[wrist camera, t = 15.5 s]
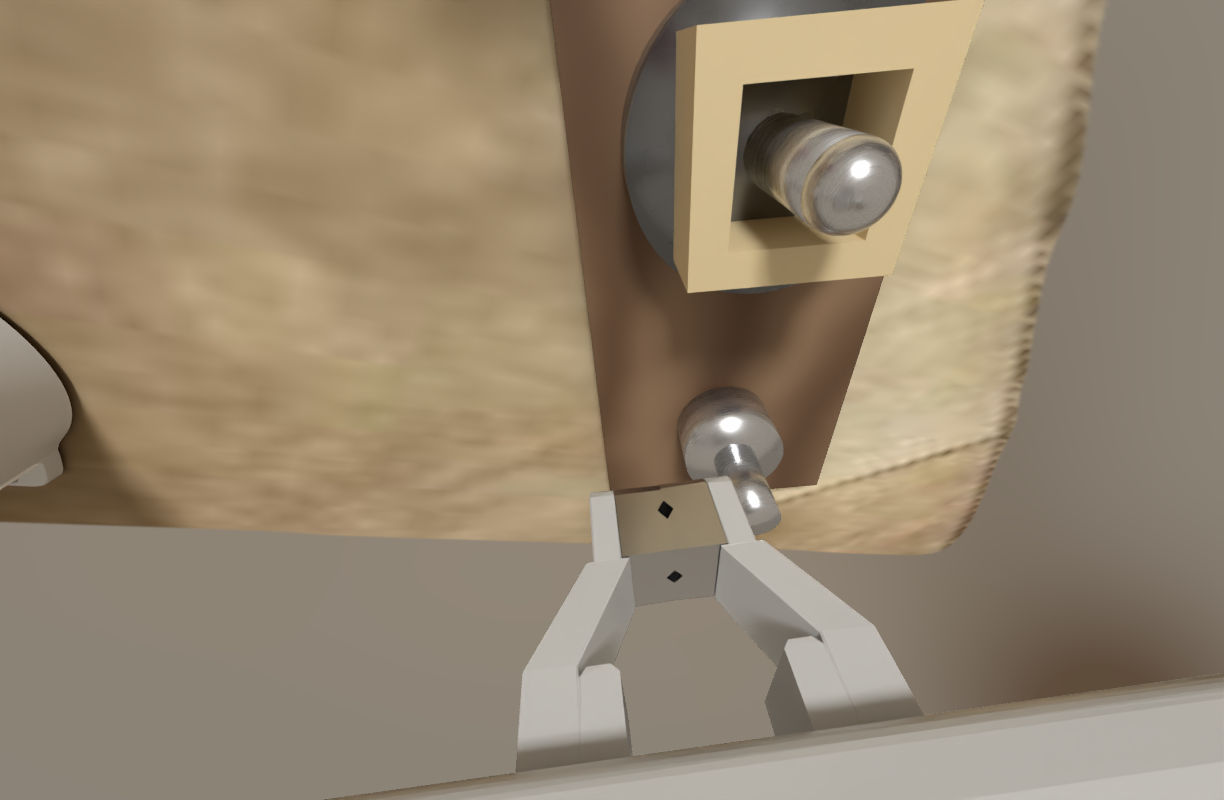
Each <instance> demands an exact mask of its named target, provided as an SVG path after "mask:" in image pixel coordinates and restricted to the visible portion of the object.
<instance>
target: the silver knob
mask: <svg viewBox="0 0 1224 800" xmlns="http://www.w3.org/2000/svg"><path fill="white" fill-rule="evenodd" d="M677 431H678V435H679V439H680V443H681V447H682V452H683V456H684V460H685V464H686V468H687V472H688V474H689V476H690V477H691V478H692V479H693V480H695V479H702V478H703V479H705V478H713V477H721V476H728V477H729V478H730V479H731V481H732V483H733V486H734V488H735V490H736V493H737V495H738V498H739V500H740V502H741V505H742V507H743V510H744V512H745V514H746V517H747V519H748V522H749V524H750V526H751V529H752V531H753V534H754V535H759V534H763V533H766V532H768V531H770V530H772V529H773V528H775V527H776V526H777V525H778V524H779V522H780V520H781V514H780V511H779V509H778V507H777V504H776V502H775V500H774V497H773V495H772V492H771V490H770V488H769V485H768V483H767V481H766V477H767V476H769V475H770V474H771V473H772V472H773V471H774V470H775V469H776V468H777V466H778V465H779V463H780V461H781V459H782V456H783V451H784V448H783V442H782V440H781V438H780V436H779V434H778V432H777V430H776V428H775V426H774V424H773V422H772V420H771V418H770V416H769V414H768V412H767V410H766V408H765V406H764V404H763V402H762V401H761V399H760V398H759V397H758V396H757V395H756V394H754V393H753V392H751V391H749V390H747V389H744V388H739V387H719V388H715V389H711V390H708V391H706V392H704V393H702V394H700V395H698V396H696V397H695V398H694V399H692V400H691V401H690V402H689V403H688V404H687V405H686V406H685V407H684V408H683V410H682V412H681V413H680V415H679V418H678V422H677Z"/></svg>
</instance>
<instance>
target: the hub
mask: <svg viewBox="0 0 1224 800" xmlns="http://www.w3.org/2000/svg"><path fill="white" fill-rule="evenodd" d="M922 3H926V0H680V1H679V2H678V3H677V4H676V5H675V6H674V7H673V8H672V9H671V10H670V12H669V13H668V14H667V16H666V17H665V18H664V19H663V21H662V22H661V23H660V24H659V26H658V27H657V28H656V30H655V32H654V33H653V35H652V37H651V38H650V40H649V41H648V43H647V45H646V46H645V48H644V50H643V52H642V54H641V57H640V59H639V61H638V63H637V65H636V67H635V70H634V73H633V76H632V78H631V81H630V84H629V87H628V90H627V95H626V99H625V104H624V108H623V114H622V123H621V159H622V168H623V173H624V177H625V181H626V186H627V189H628V193H629V196H630V200H631V203H632V206H633V209H634V212H635V214H636V217H637V220H638V222H639V225H640V227H641V229H642V231H643V232H644V234H645V236H646V238H647V240H648V241H649V243H650V244H651V245H652V247H653V248H654V250H655V251H656V252H657V254H658V255H659V256H660V257H661V258H662V259H663V260H664V261H665V262H666V263H667V264H668V265H669V266H670V267H671V268H673V269H674V270H675V271H677V272H678V269H677V267H676V265H675V262H674V260H673V248H674V170H675V91H676V31H680V30H683V29H686V28H689V27H693V26H696V25H704V24H714V23H725V22H735V21H746V20H756V19H766V18H777V17H787V16H798V15H808V14H818V13H829V12H839V11H849V10H860V9H870V8H881V7H891V6H901V5H912V4H922ZM853 76H854V74H849V75H838V76H827V77H817V78H806V79H796V80H785V81H774V82H764V83H753V84H743V91H742V102H741V113H740V124H739V135H738V146H737V157H736V168H735V180H734V191H733V202H732V213H731V222H733V221H744V220H755V219H766V218H777V217H788V216H798V217H799V218H800V219H802V220H803V221H804V222H806V223H807V224H808V225H809V226H811V227H812V228H814V229H815V230H817V231H819V232H821V233H823V234H826V235H831V236H847V235H852V234H856V233H859V232H861V231H864V230H866V229H868V228H869V227H871V226H873V225H874V224H875V223H877V222H878V221H879V220H880V219H881V218H882V217H884V216H885V214H886V213H887V212H888V211H889V210H890V208H891V207H892V205H893V204H894V202H895V200H896V198H897V196H898V194H899V191H900V188H901V184H902V165H901V161H900V158H899V156H898V154H897V152H896V150H895V149H894V148H893V147H892V146H891V145H890V144H889V143H888V142H887V141H885V140H884V139H882V138H880V137H877V136H874V135H871V134H867V133H864V132H860V131H856V130H853V129H849V128H845V127H842V126H843V122H844V117H845V113H846V108H847V103H848V99H849V94H850V89H851V85H852V80H853ZM678 273H679V272H678ZM797 284H798V283H797ZM793 285H795V284H785V285H774V286H762V287H751V288H740V289H728V290H717V291H722V292H727V293H737V294H754V293H763V292H770V291H775V290H779V289H783V288H786V287H790V286H793Z"/></svg>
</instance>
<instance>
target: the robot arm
mask: <svg viewBox="0 0 1224 800" xmlns="http://www.w3.org/2000/svg"><path fill="white" fill-rule="evenodd" d="M71 421H72V408H71V403H70V400H69V397H68V395H67V392H66V390H65V388H64V386H63V384H62V382H61V381H60V379H59V378H58V376H57V375H56V373H55V372H54V371H53V369H52V368H51V366H50V365H49V364H48V363H47V362H46V360H45V359H44V358H43V357H42V356H41V355H40V354H39V353H38V351H37V350H36V349H35V348H34V347H33V346H32V345H31V344H30V343H29V342H28V341H27V340H26V339H25V338H23V337H22V336H21V335H20V334H19V333H18V332H17V331H16V330H15V329H13V328H12V327H11V326H10V325H9V324H7V323H6V322H5V321H4V320H3V319H1V318H0V490H1V489H3V488H4V487H6V486H7V485H8V486H31V487H36V486H43V485H45V484H47V483H49V482H50V481H52V480H53V479H55V478H56V477H58V476H59V475H61V474H62V472H63V464H62V460H61V457H60V454H59V451H58V446H59V444H60V442H61V440H62V439H63V437H64V436H65V435H66V433H67V432H68V430H69V428H70V425H71ZM614 497H615V500H614ZM589 501H590V517H591V533H592V549H593V562H589V563H586V564H585V566H584V568H583V570H582V571H581V573H580V575H579V576H578V578H577V580H576V581H575V583H574V585H573V587H572V588H571V590H570V592H569V594H568V595H567V597H566V599H565V600H564V602H563V604H562V606H561V607H560V609H559V611H558V612H557V614H556V616H555V618H554V619H553V621H552V623H551V625H550V626H549V628H548V630H547V632H546V633H545V635H544V637H543V638H542V640H541V642H540V644H539V645H538V647H537V649H536V650H535V652H534V654H533V656H532V657H531V659H530V661H529V662H528V664H527V666H526V668H525V669H524V671H523V676H522V689H521V703H520V718H519V732H518V746H517V747H518V748H517V760H516V773H510V774H504V775H496V776H489V777H482V778H475V779H467V780H460V781H453V782H447V783H439V784H432V785H426V786H418V787H411V788H404V789H396V790H389V791H382V792H376V793H368V794H361V795H354V796H346V797H339V798H332V799H325V800H1224V673H1221V674H1214V675H1207V676H1200V677H1193V678H1186V679H1178V680H1171V681H1165V682H1157V683H1150V684H1143V685H1136V686H1128V687H1121V688H1115V689H1108V690H1100V691H1093V692H1086V693H1079V694H1072V695H1065V696H1057V697H1051V698H1044V699H1036V700H1029V701H1022V702H1015V703H1008V704H1001V705H993V706H987V707H979V708H972V709H965V710H958V711H951V712H944V713H937V714H929V715H924V714H923V712H922V710H921V708H920V707H919V705H918V703H917V701H916V699H915V698H914V696H913V694H912V692H911V691H910V689H909V687H908V685H907V684H906V682H905V680H904V678H903V676H902V674H901V673H900V671H899V669H898V667H897V665H896V664H895V662H894V660H893V658H892V656H891V655H890V653H889V651H888V649H887V648H886V646H885V644H884V642H883V641H882V639H881V637H880V635H879V633H878V632H877V630H876V628H875V626H874V625H873V624H871V623H870V622H869V621H867V620H866V619H865V618H864V617H862V616H861V615H860V614H858V613H857V612H856V611H854V610H853V609H852V608H851V607H849V606H848V605H847V604H846V603H844V602H843V601H842V600H840V599H839V598H838V597H837V596H835V595H834V594H832V593H831V592H830V591H829V590H828V589H826V588H825V587H823V586H822V585H821V584H820V583H819V582H817V581H816V580H815V579H813V578H812V577H811V576H810V575H808V574H807V573H806V572H804V571H803V570H802V569H801V568H799V567H798V566H797V565H795V564H794V563H793V562H792V561H790V560H789V559H788V558H786V557H785V556H784V555H782V554H781V553H780V552H779V551H777V550H776V549H775V548H774V547H772V546H771V545H770V544H768V543H767V542H766V541H765V540H756V538H755V536H754V534H753V531H752V529H751V526H750V524H749V522H748V519H747V517H746V514H745V512H744V510H743V507H742V505H741V502H740V500H739V498H738V495H737V493H736V490H735V488H734V486H733V483H732V481H731V479H730V478H729V477H728V476H721V477H713V478H705V479H703V478H702V479H695V480H688V481H681V482H674V483H667V484H660V485H658V486H648V487H638V488H629V489H619V490H614V493H613V490H611V491H602V492H593V493H590V499H589ZM615 506H616V508H615ZM616 514H617V515H616ZM709 596H715V599H716V600H717V601H718V602H719V603H720V604H721V605H722V607H723V608H724V609H725V610H726V611H727V612H728V613H729V614H730V615H731V617H733V618H734V620H735V621H736V622H737V623H738V624H739V625H740V627H741V628H742V629H743V630H744V631H745V632H746V633H747V634H748V635H749V636H750V637H751V639H752V640H753V641H754V642H755V643H756V644H757V645H758V647H759V648H760V649H761V650H762V651H763V652H764V653H765V654H766V655H767V656H768V658H769V659H770V660H771V661H772V662H773V663H774V664H775V665H776V666H777V669H776V672H775V675H774V678H773V680H772V683H771V686H770V688H769V691H768V694H767V697H766V699H765V705H766V708H767V711H768V715H769V718H770V721H771V724H772V728H773V731H774V734H775V736H773V737H767V738H759V739H752V740H745V741H738V742H730V743H724V744H716V745H709V746H702V747H695V748H688V749H681V750H674V751H667V752H659V753H653V754H645V755H638V756H633V755H632V746H631V737H630V728H629V720H628V714H627V709H626V703H625V697H624V693H623V686H622V680H621V675H620V670H619V669H617V668H616V667H615V666H613V665H614V662H615V660H616V657H617V654H618V652H619V649H620V647H621V644H622V642H623V639H624V637H625V634H626V632H627V629H628V627H629V624H630V621H631V619H632V616H633V614H634V611H635V606H641V605H648V604H654V603H660V602H666V601H672V600H681V599H689V598H700V597H709Z"/></svg>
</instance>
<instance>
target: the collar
mask: <svg viewBox="0 0 1224 800" xmlns="http://www.w3.org/2000/svg"><path fill="white" fill-rule="evenodd" d="M984 1H985V0H953V1H943V2H933V3H922V4H912V5H901V6H891V7H881V8H870V9H860V10H849V11H839V12H829V13H818V14H808V15H798V16H787V17H777V18H766V19H756V20H746V21H735V22H725V23H714V24H704V25H696V26H693V27H689V28H686V29H683V30H680V31H676V91H675V170H674V248H673V260H674V262H675V265H676V267H677V269H678V272H679V274H680V276H681V279H682V281H683V284H684V286H685V288H686V291H687V293H694V292H705V291H717V290H728V289H740V288H751V287H762V286H774V285H785V284H797V283H808V282H819V281H831V280H842V279H853V278H865V277H876V276H888V275H892V274H893V271H894V268H895V265H896V262H897V259H898V256H899V253H900V250H901V248H902V245H903V242H904V239H905V236H906V233H907V230H908V227H909V224H910V221H911V218H912V215H913V212H914V209H915V206H916V203H917V200H918V197H919V194H920V191H921V188H922V185H923V182H924V179H925V176H926V173H927V170H928V167H929V164H930V161H931V159H932V156H933V153H934V150H935V147H936V144H937V141H938V138H939V135H940V132H941V129H942V126H943V123H944V120H945V117H946V114H947V111H948V108H949V105H950V102H951V99H952V96H953V93H954V90H955V87H956V84H957V81H958V78H959V75H960V72H961V70H962V67H963V64H964V61H965V58H966V55H967V52H968V49H969V46H970V43H971V40H972V37H973V34H974V31H975V28H976V25H977V22H978V19H979V16H980V13H981V10H982V7H983V4H984ZM849 74H854V76H853V80H852V85H851V89H850V94H849V99H848V103H847V108H846V113H845V117H844V122H843V126H842V127H845V128H849V129H853V130H856V131H860V132H864V133H867V134H871V135H874V136H877V137H880V138H882V139H884V140H885V141H887V142H888V143H889V144H890V145H891V146H892V147H893V148H894V149H895V150H896V152H897V154H898V156H899V158H900V161H901V165H902V184H901V188H900V191H899V194H898V196H897V198H896V200H895V202H894V204H893V205H892V207H891V208H890V210H889V211H888V212H887V213H886V214H885V216H884V217H882V218H881V219H880V220H879V221H878V222H877V223H875V224H874V225H873V226H871V227H869V228H868V229H866V230H864V231H861V232H859V233H856V234H852V235H847V236H831V235H826V234H823V233H821V232H819V231H817V230H815V229H814V228H812V227H811V226H809V225H808V224H807V223H806V222H804V221H803V220H802V219H800V218H799V217H798V216H788V217H777V218H766V219H755V220H744V221H733V222H731V213H732V202H733V191H734V180H735V168H736V157H737V146H738V135H739V124H740V113H741V102H742V91H743V84H753V83H764V82H774V81H785V80H796V79H806V78H817V77H827V76H838V75H849Z"/></svg>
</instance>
